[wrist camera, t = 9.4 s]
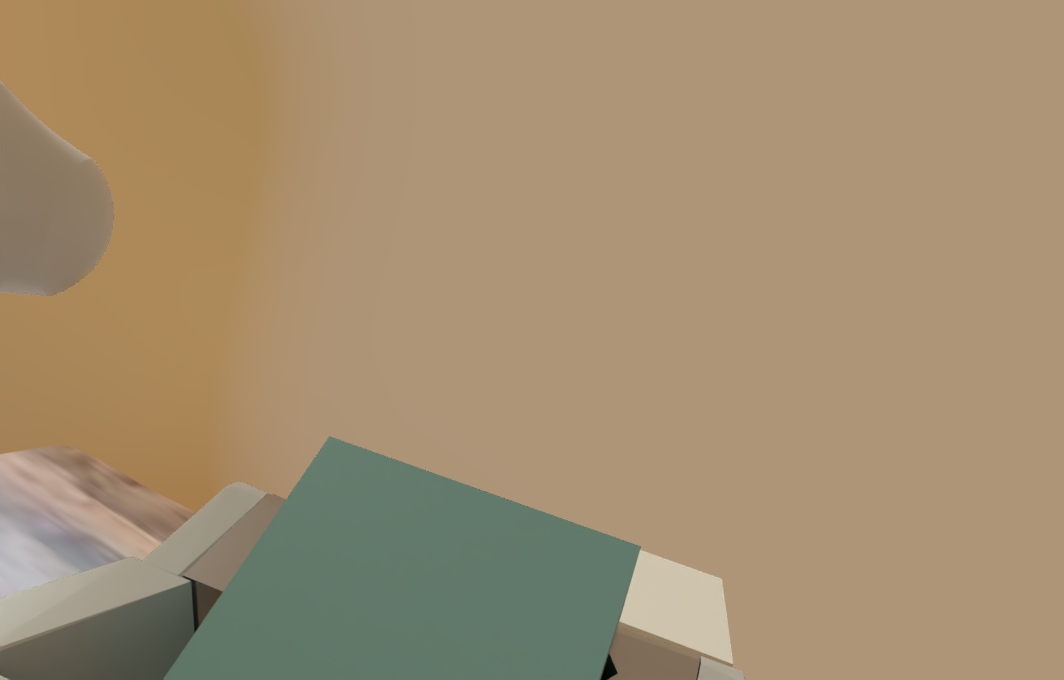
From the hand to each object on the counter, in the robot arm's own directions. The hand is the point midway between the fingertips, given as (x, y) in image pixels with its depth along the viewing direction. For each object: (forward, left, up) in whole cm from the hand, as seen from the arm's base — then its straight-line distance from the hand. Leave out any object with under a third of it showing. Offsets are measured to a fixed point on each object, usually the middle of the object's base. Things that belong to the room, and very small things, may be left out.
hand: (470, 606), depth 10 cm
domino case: (-3, +2, -8) cm, 8 cm away
